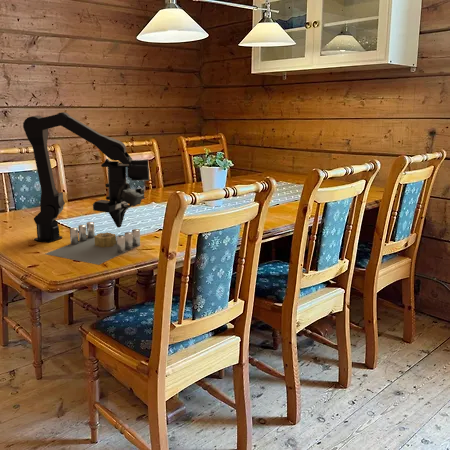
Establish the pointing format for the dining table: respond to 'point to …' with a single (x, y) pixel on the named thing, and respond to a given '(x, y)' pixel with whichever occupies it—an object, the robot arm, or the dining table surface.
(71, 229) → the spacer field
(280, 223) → the dining table surface
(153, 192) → the dining table surface
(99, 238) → the tan lobed block
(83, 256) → the mat
